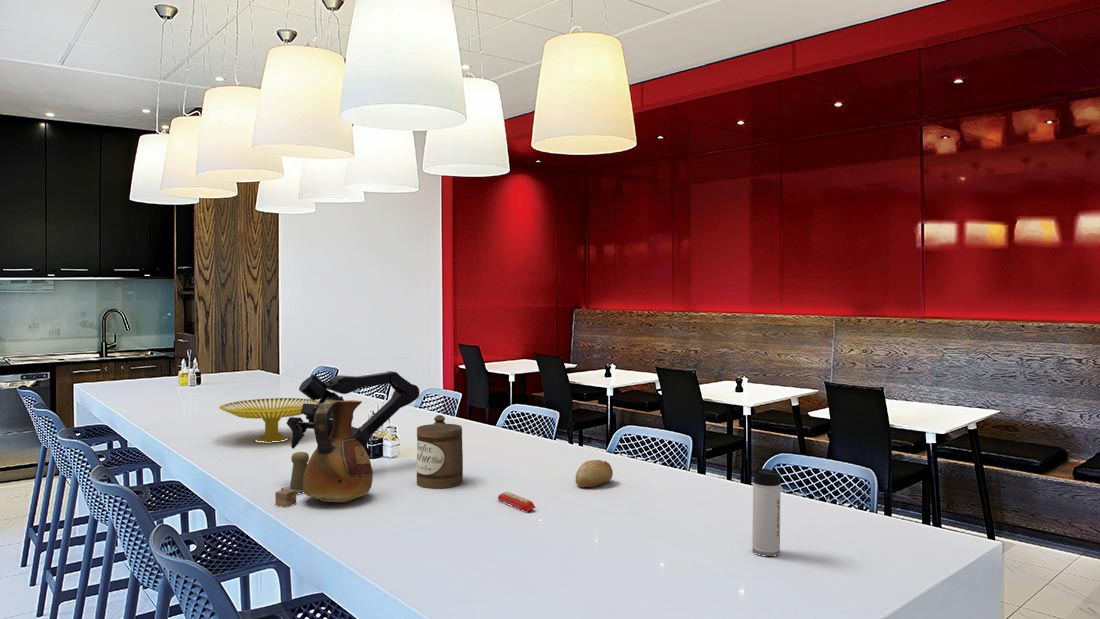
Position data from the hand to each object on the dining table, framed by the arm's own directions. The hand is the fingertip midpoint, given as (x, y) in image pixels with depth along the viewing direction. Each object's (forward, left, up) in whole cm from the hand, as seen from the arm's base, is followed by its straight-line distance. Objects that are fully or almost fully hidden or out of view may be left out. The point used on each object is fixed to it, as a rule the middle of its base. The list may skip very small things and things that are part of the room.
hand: (304, 448), depth 229 cm
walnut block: (+13, +12, -13) cm, 22 cm away
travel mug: (-46, +132, -13) cm, 140 cm away
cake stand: (-30, -81, -13) cm, 87 cm away
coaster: (+2, +1, -12) cm, 13 cm away
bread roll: (-67, +63, -13) cm, 93 cm away
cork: (+2, +1, -12) cm, 12 cm away
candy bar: (-32, +61, -13) cm, 70 cm away
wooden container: (-34, +25, -13) cm, 44 cm away
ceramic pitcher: (-1, +18, -13) cm, 22 cm away
